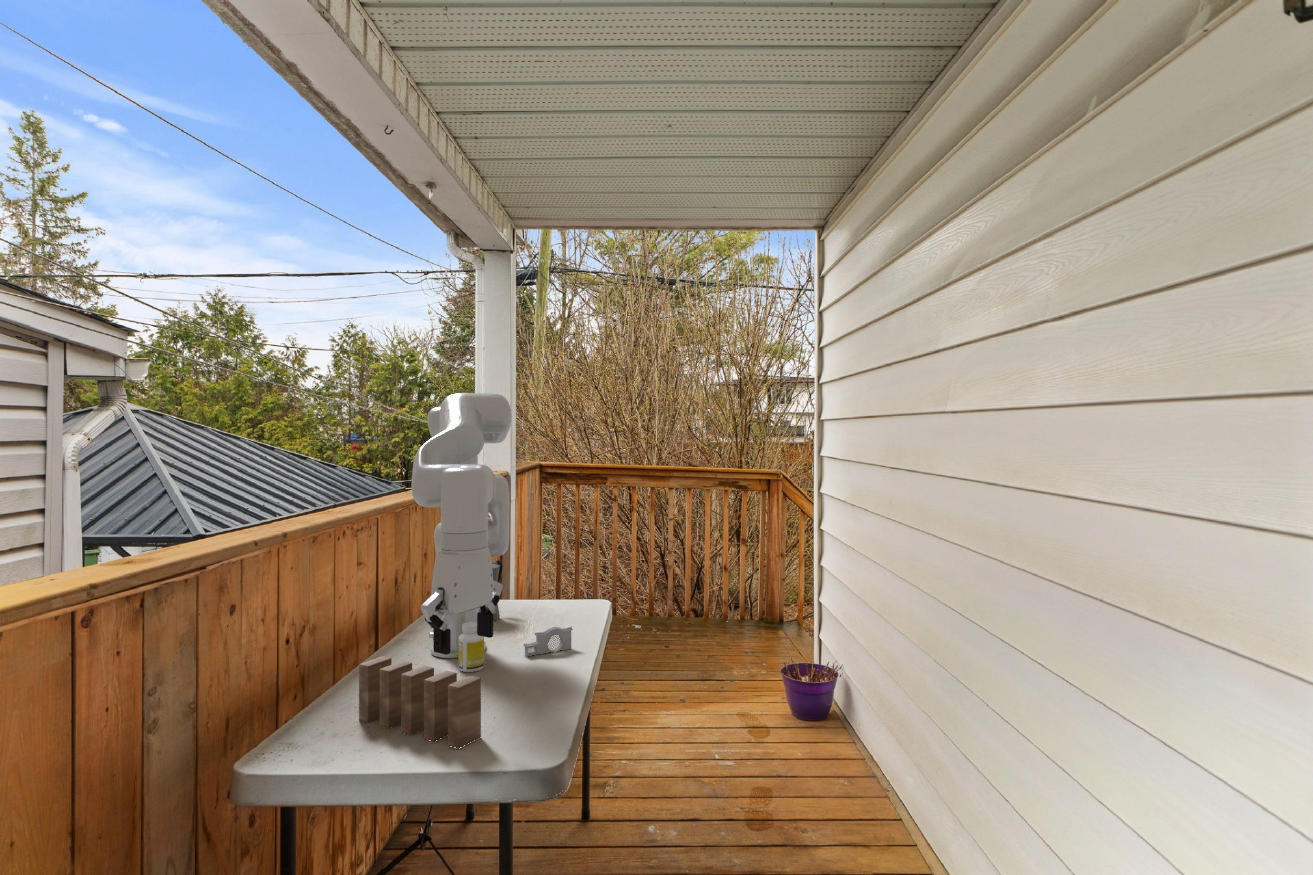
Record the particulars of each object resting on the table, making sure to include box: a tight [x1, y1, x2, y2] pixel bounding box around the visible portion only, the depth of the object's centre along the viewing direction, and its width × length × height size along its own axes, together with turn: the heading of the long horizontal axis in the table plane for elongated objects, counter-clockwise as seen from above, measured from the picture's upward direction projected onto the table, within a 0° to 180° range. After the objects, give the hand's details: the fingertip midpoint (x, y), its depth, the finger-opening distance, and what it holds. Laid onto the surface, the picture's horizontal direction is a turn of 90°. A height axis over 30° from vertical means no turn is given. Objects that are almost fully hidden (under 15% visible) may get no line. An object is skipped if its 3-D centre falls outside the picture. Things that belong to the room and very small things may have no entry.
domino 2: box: [379, 660, 413, 730], centre depth 115 cm, size 2×5×10 cm, turn 151°
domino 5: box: [447, 675, 482, 749], centre depth 108 cm, size 2×5×10 cm, turn 151°
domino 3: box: [400, 665, 435, 736], centre depth 113 cm, size 2×5×10 cm, turn 151°
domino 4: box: [423, 670, 458, 743], centre depth 110 cm, size 2×5×10 cm, turn 151°
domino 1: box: [358, 655, 393, 723], centre depth 118 cm, size 2×5×10 cm, turn 152°
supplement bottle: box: [458, 622, 485, 673], centre depth 143 cm, size 5×5×10 cm
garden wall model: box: [523, 626, 574, 657], centre depth 154 cm, size 12×2×6 cm, turn 123°
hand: (464, 644), depth 108 cm, fingers open, 9 cm apart
